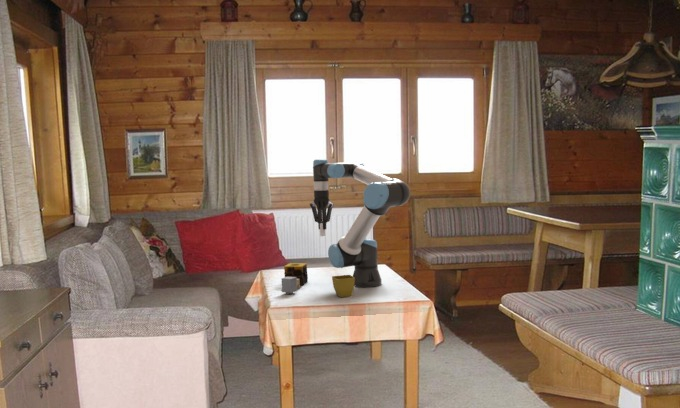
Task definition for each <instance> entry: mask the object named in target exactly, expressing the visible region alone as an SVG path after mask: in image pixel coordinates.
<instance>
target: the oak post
mask: <svg viewBox="0 0 680 408" xmlns="http://www.w3.org/2000/svg"><path fill="white" fill-rule="evenodd" d="M300 289H301V286H300V279H297V291H298V290H300Z"/></svg>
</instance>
